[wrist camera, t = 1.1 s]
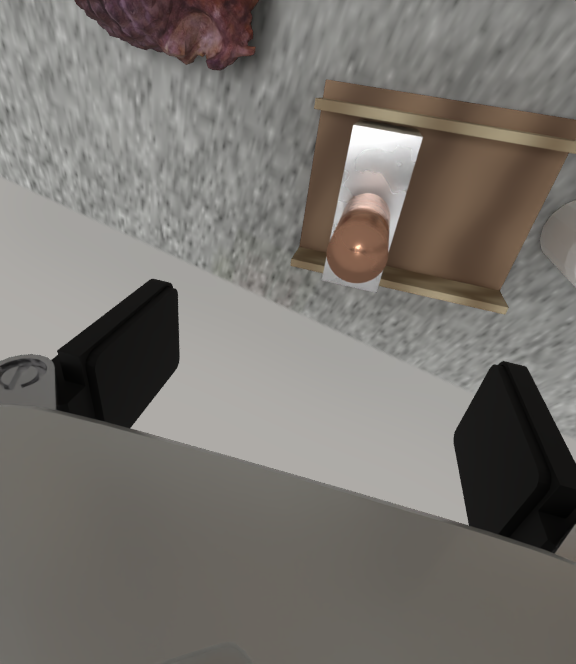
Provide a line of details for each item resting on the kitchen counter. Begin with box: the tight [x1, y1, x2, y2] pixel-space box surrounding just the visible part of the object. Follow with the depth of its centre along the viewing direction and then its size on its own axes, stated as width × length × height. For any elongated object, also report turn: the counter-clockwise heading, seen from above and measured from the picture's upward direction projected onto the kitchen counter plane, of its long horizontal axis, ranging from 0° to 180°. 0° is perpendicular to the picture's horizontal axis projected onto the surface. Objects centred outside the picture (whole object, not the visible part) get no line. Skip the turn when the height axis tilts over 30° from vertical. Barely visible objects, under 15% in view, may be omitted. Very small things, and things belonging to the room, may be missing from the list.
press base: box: [291, 80, 576, 314], centre depth 29 cm, size 17×14×4 cm
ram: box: [322, 120, 423, 293], centre depth 24 cm, size 4×10×13 cm, turn 172°
